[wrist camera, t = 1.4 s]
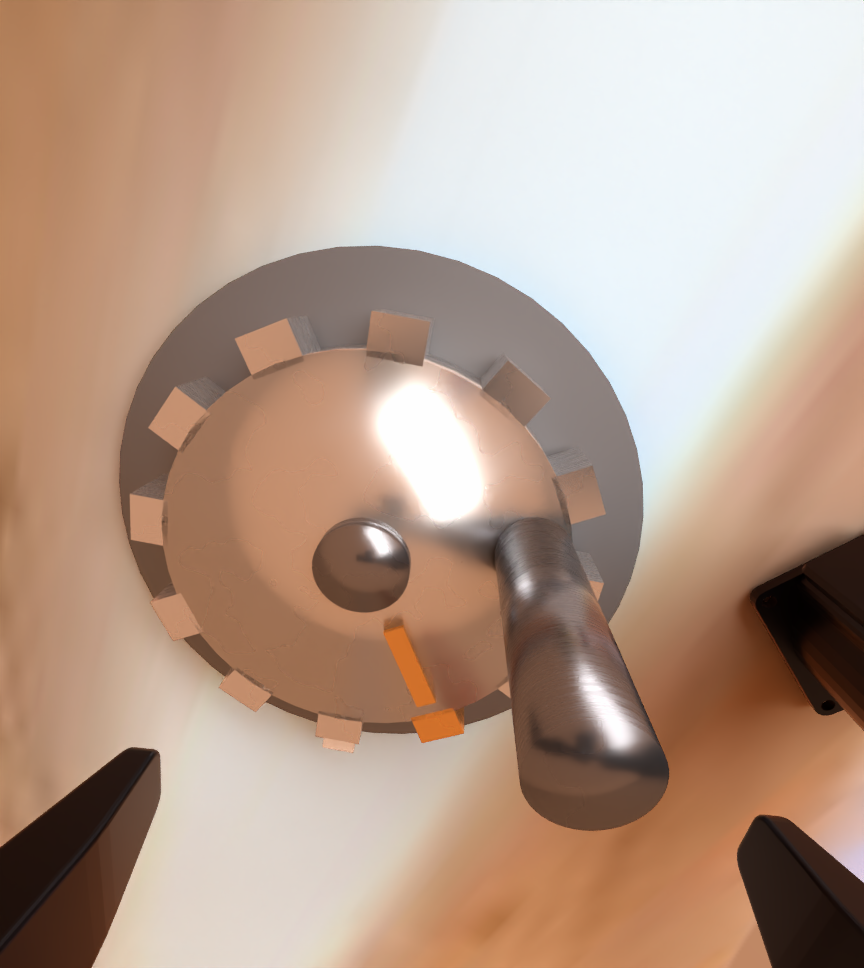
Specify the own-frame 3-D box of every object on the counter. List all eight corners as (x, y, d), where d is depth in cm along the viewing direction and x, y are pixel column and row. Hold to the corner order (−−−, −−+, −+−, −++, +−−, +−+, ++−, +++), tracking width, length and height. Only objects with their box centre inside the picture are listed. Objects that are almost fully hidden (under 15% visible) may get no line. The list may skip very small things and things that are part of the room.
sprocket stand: (725, 586, 20) (757, 623, 17) (338, 779, 24) (326, 827, 22) (443, 107, 15) (440, 76, 13) (30, 455, 19) (-25, 475, 17)
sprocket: (667, 589, 18) (877, 892, 9) (339, 756, 22) (246, 1099, 13) (425, 202, 15) (357, 40, 5) (79, 478, 18) (-325, 669, 9)
